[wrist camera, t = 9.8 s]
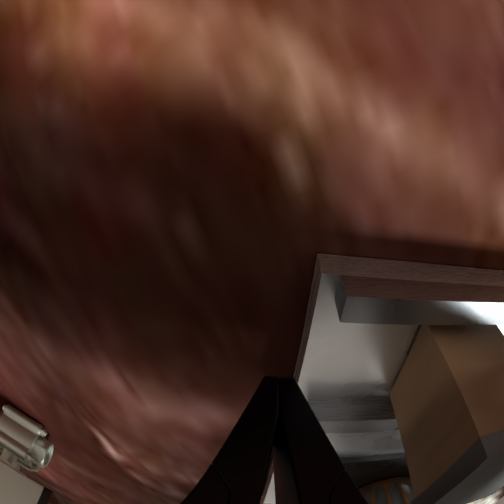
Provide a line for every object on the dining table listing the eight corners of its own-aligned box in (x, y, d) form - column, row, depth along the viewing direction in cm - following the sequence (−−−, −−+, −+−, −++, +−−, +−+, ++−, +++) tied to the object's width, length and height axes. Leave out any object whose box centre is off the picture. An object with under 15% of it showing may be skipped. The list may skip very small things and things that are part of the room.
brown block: (495, 316, 9) (565, 427, 4) (453, 389, 10) (492, 494, 6) (422, 316, 9) (487, 457, 4) (386, 395, 10) (413, 517, 6)
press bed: (581, 278, 9) (606, 302, 7) (436, 482, 17) (441, 503, 15) (317, 253, 9) (326, 294, 7) (262, 495, 18) (260, 521, 16)
